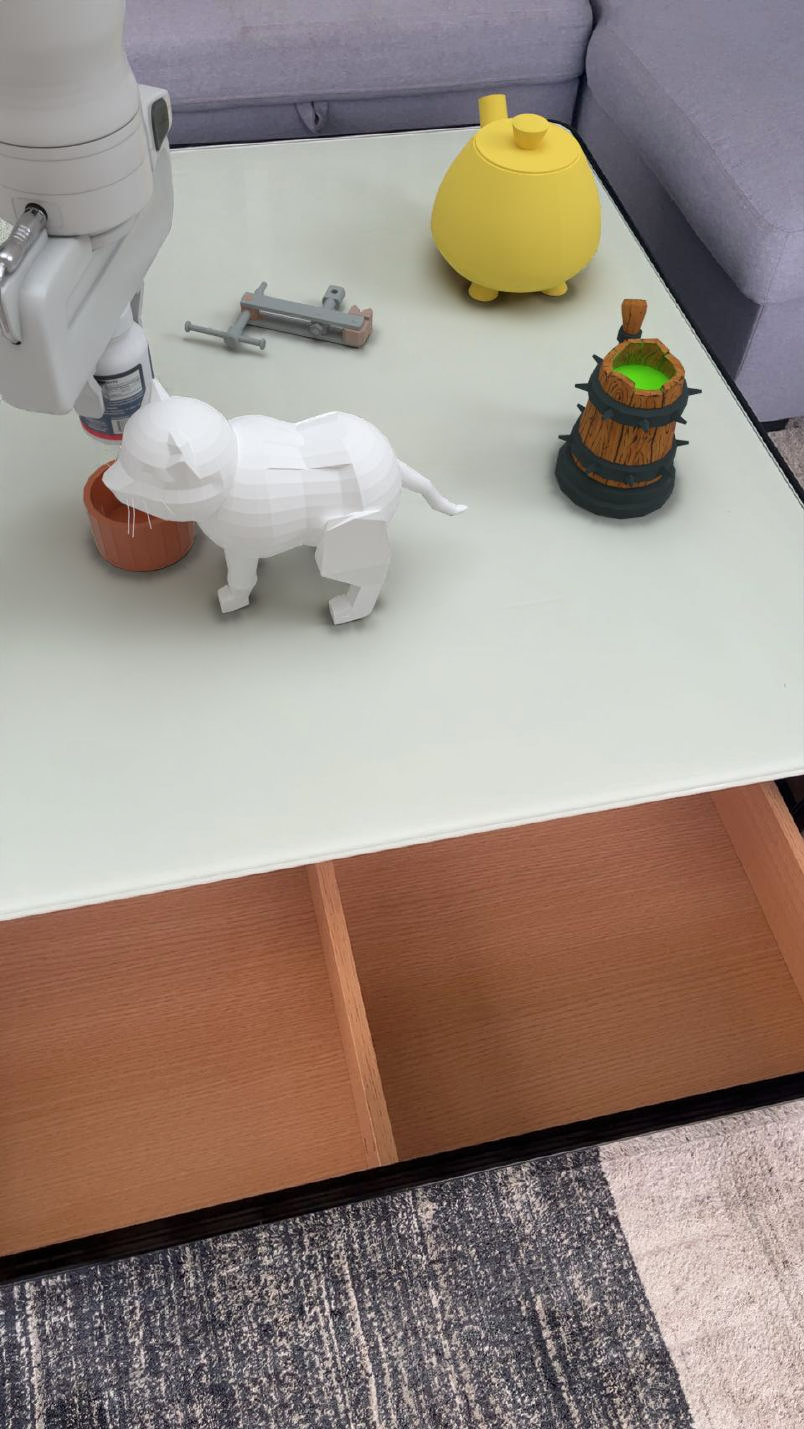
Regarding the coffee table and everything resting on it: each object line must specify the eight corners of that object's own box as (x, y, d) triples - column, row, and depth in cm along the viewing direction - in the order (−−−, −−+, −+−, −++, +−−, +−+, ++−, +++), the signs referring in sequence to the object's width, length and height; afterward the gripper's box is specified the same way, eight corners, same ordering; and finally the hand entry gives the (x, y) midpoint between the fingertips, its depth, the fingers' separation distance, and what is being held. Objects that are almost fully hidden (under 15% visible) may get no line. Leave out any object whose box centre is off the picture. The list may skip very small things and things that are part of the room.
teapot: (404, 202, 107) (412, 55, 95) (553, 194, 109) (578, 49, 97) (447, 325, 96) (461, 175, 84) (611, 312, 98) (647, 164, 87)
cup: (80, 562, 78) (67, 518, 74) (114, 492, 82) (103, 447, 78) (178, 579, 77) (170, 535, 73) (207, 508, 81) (201, 463, 78)
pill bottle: (99, 389, 72) (72, 270, 65) (172, 403, 72) (153, 285, 65) (68, 439, 69) (36, 321, 62) (144, 455, 69) (120, 337, 62)
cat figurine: (439, 499, 83) (459, 312, 69) (483, 598, 77) (513, 416, 64) (116, 557, 78) (68, 368, 64) (138, 667, 73) (91, 486, 59)
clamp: (382, 289, 94) (349, 356, 89) (381, 310, 96) (349, 378, 91) (222, 256, 96) (180, 320, 91) (225, 278, 98) (184, 342, 92)
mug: (685, 524, 83) (730, 404, 73) (555, 518, 82) (583, 397, 73) (663, 413, 90) (702, 292, 81) (544, 408, 90) (568, 285, 80)
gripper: (50, 282, 50) (104, 496, 62) (179, 79, 62) (204, 291, 73) (-77, 262, 51) (0, 479, 62) (74, 64, 62) (116, 278, 73)
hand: (111, 376), depth 68 cm, fingers closed on pill bottle, 5 cm apart
